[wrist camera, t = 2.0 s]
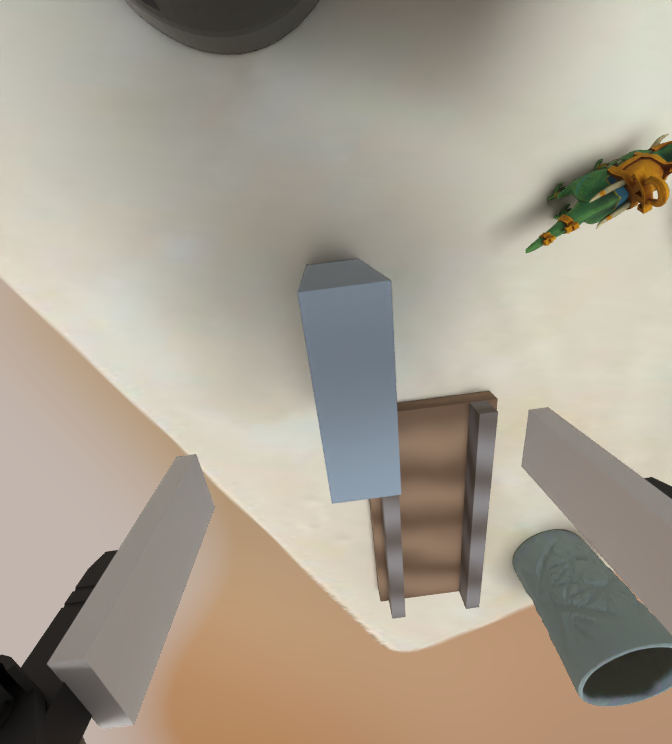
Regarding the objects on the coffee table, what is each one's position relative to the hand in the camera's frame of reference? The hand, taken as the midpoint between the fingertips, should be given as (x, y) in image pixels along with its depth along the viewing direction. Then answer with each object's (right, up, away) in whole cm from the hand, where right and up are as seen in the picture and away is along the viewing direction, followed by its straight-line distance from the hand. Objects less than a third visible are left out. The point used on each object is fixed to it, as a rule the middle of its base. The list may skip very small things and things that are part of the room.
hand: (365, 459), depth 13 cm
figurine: (+15, +16, +11) cm, 25 cm away
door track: (+8, -11, +22) cm, 26 cm away
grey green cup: (+25, -19, +27) cm, 41 cm away
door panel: (-1, +6, +14) cm, 16 cm away
